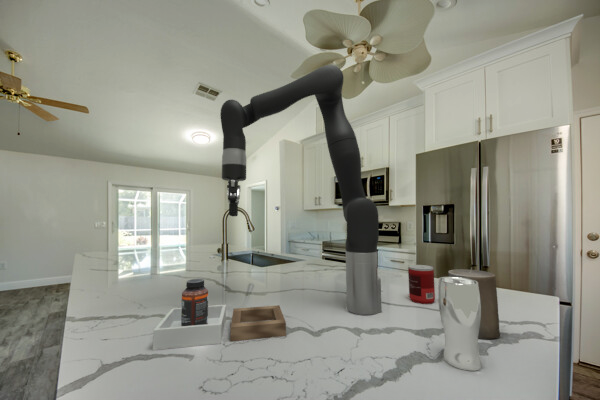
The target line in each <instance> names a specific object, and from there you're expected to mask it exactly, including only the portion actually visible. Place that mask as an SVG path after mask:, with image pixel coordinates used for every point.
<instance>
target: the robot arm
mask: <svg viewBox="0 0 600 400" xmlns="http://www.w3.org/2000/svg"><path fill="white" fill-rule="evenodd" d="M343 73H344V72H343V71H342V70H341V68H339V67H338V66H336V65H334V64H326V65H323V66H321V67H318V68H317V69H315V70H313V71H311V72H309V73H308V74H305V75H304V76H302V77H299V78H297V79H295V80H293V81H291V82H289V83H287V84H285V85H283V86H279V87H278V88H275V89H271V90H269V91H266V92H263V93H260V94H257V95H253V96H252V97H251V98H250V100H249V101H250V102H249V103H248V104H246V105H244V106H242V104H241V102H239V101H238V100H235V99H228V100H226V101H225V102H224V103H223V104H222V106H221V108H220V115H219V116H220V123H221V130H222V131H221V132H222V135H223V138H222V139H223V142H222V143H223V144H222V155H221V157H222V158H221V179H222V180H223V181H226V182H227V181H228V182H227V183H228V185H227V186H226V190H227V192H226V193H227V195H226V196H227V202H228V215H229V216H231V217H238V213H239V202H240V197H241V195H240V194H241V185H239V182H244V181H246V179H247V155H246V154H247V153H246V150H247V149H246V148H247V147H246V146H247V145H246V144H247V143H246V142H247V141H246V136H245V134H244V128H247V127H249V126H250V125H253V124H255V123H256V122H258V121H260V120H261V119H263V118H266V117H271V116H273V115H276V114H279V113H281V112H283V111H285V110H287V109H288V108H289V107H291V106H292V105H294V104H296V103H297V102H299V101H301V100H303V99H306V98H308V97H312V96H314V97H315V99H316V102H317V105H318V108H319V111H320V112H321V115H322V119H323V125H324V126H323V127H324V134H325V139H326V143H327V149H328V150H327V151H328V153H329V157H330V161H331V164H332V168H333V171H334V174H335V177H336V180H337V183H338V186H339V190H340V191H339V192H340V196H341V204H342V212H343V217H344V220H345V222H346V240H345V278H346V279H345V282H346V283H345V286H346V287H345V288H346V293H345V294H346V310H347V311H348V312H350V313H352V314H356V315H359V316H360V315H361V316H363V315H364V316H369V315H370V316H371V315H375V314H377V313H381V312H382V284H381V283H382V282H381V277H379V275H378V243H379V233H380V232H379V224H380V223H379V222H380V221H379V209H378V208H377V205H376V204H375V202H374V201H373V200H371V199H370V198H367V196H366V193H365V190H364V186H363V182H362V181H363V180H362V159H361V153H360V147H359V143H358V140H357V136H356V134H355V131H354V129H353V126H352V125H351V123H350V121H349V120H348V118H347V115H346V113H345V109H344V108H345V107H344V102H343V96H342V90H343V85H344V74H343Z"/></svg>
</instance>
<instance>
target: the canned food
mask: <svg viewBox="0 0 600 400" xmlns="http://www.w3.org/2000/svg"><path fill="white" fill-rule="evenodd" d="M407 269H408V270H407V271H408V273H407V275H408V290H409V291H408V294H409V296H408V297H409V300H410V301H411V302H412V303H416V304H421V305H432V304H434V303H435V301H436V294H435V291H436V290H435V270H434V267H433V266H431V265H427V264H426V265H425V264H424V265H423V264H410V265H408V267H407Z"/></svg>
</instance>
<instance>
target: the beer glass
mask: <svg viewBox="0 0 600 400" xmlns="http://www.w3.org/2000/svg"><path fill="white" fill-rule="evenodd" d="M437 285H438V287H437V290H438V292H437V297H438V299H437V301H438V310H439V316H440V319H441V324H442V328H443V333H444V348H443V359H444V362H446V363H447V364H448V365H449V366H450V365H451V366H452V367H454V368H456V369H458V370H459V369H460V370H462V371H463V370H464V371H467V372H469V371H470V372H475V371H479V370H481V369H482V360H481V356H480V352H479V345H478V344H479V338H478V335H479V328H480V321H481V300H480V293H479V286H478V282H477V281H475V280H472V279H467V278H460V277H449V276H441V277H438V284H437Z"/></svg>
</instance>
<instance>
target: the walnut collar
mask: <svg viewBox="0 0 600 400" xmlns="http://www.w3.org/2000/svg"><path fill="white" fill-rule="evenodd" d="M286 328H287V321H286V320H285V317H284V314H283V311H282V308H281V306H280V305H266V306H265V305H264V306H251V307H239V308H233V311H232V317H231V323H230V342H237V341H238V342H239V341H247V340H256V339H257V340H258V339H259V340H260V339H267V338H270V339H271V338H276V337H279V338H280V337H286V336H287V329H286Z"/></svg>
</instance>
